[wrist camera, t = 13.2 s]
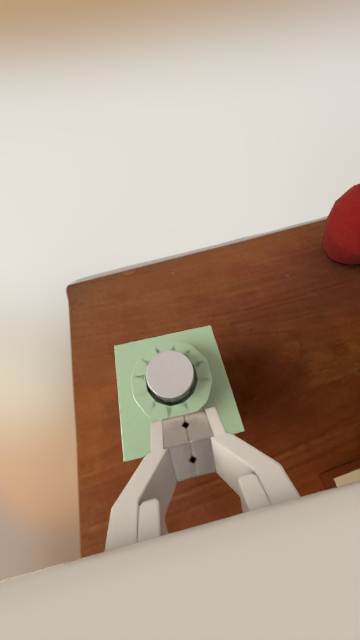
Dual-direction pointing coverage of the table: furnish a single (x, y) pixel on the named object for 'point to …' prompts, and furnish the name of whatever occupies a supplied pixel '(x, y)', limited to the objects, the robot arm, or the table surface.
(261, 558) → the robot arm
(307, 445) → the table surface
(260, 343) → the table surface
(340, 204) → the apple
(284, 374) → the table surface
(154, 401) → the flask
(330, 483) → the panel
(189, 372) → the grey cylindrical peg
